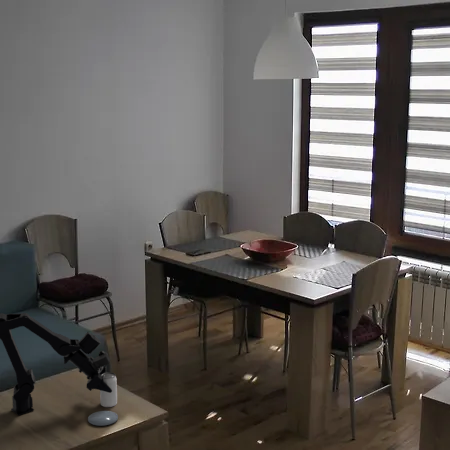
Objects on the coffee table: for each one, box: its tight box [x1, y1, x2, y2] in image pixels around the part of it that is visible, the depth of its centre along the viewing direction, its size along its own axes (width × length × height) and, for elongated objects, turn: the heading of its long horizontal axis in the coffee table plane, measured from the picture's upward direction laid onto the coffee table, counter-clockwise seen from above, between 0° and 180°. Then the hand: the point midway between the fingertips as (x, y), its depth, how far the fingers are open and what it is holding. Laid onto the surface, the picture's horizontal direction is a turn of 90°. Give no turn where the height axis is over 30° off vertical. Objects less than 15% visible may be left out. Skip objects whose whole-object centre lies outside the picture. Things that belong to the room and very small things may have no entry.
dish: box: [87, 410, 119, 427], centre depth 259 cm, size 11×11×1 cm
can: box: [99, 372, 118, 408], centre depth 272 cm, size 6×6×12 cm
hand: (112, 388), depth 272 cm, fingers closed on can, 6 cm apart
